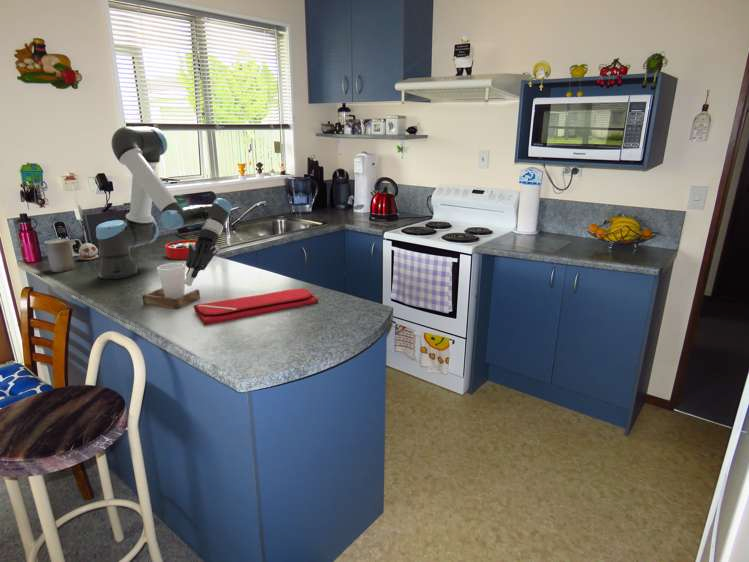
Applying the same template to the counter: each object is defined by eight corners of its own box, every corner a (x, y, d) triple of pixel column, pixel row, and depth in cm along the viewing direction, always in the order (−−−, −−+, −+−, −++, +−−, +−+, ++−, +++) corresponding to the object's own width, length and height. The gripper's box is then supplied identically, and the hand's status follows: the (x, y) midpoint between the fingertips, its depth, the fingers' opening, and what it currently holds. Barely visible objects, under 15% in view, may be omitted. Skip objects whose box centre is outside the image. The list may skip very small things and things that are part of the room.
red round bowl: (202, 238, 260) (210, 245, 243) (203, 248, 261) (211, 256, 245) (162, 242, 250) (168, 250, 234) (164, 253, 252) (169, 261, 235)
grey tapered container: (77, 265, 228) (71, 234, 224) (72, 271, 219) (65, 238, 215) (54, 267, 225) (47, 236, 221) (47, 273, 217) (40, 240, 212)
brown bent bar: (168, 294, 186) (166, 285, 185) (200, 298, 181) (199, 289, 180) (143, 304, 175) (142, 295, 174) (177, 309, 170) (175, 299, 169)
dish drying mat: (319, 304, 176) (318, 294, 175) (204, 327, 155) (203, 316, 154) (302, 292, 189) (301, 283, 188) (194, 313, 168) (192, 303, 167)
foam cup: (194, 297, 182) (190, 264, 178) (174, 305, 174) (170, 270, 171) (176, 294, 186) (171, 261, 182) (156, 301, 178) (151, 267, 175)
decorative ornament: (84, 261, 236) (78, 231, 232) (78, 259, 241) (72, 229, 236) (101, 258, 242) (95, 229, 237) (95, 256, 247) (89, 227, 242)
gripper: (228, 239, 195) (206, 290, 185) (202, 237, 199) (179, 287, 189) (218, 228, 188) (195, 281, 179) (192, 227, 193) (167, 278, 183)
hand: (187, 284), depth 184 cm, fingers closed
